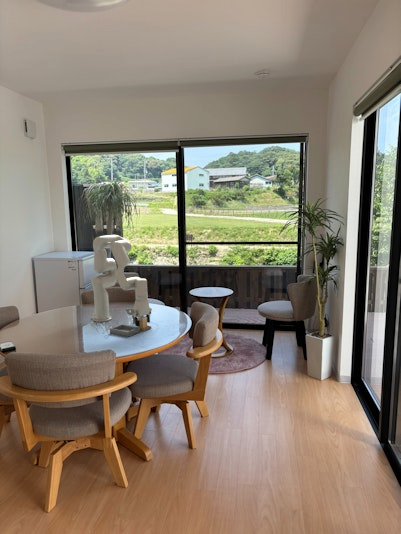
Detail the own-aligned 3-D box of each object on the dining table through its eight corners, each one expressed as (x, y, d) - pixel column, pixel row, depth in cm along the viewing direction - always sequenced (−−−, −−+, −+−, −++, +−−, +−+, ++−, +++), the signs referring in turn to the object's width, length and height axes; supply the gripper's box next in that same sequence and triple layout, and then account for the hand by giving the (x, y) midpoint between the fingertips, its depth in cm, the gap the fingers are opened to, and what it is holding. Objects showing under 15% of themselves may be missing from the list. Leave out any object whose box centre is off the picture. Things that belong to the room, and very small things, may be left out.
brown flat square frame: (134, 329, 256) (134, 327, 256) (142, 326, 262) (142, 324, 262) (143, 331, 252) (143, 329, 252) (151, 328, 258) (151, 326, 258)
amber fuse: (138, 329, 256) (138, 317, 255) (142, 328, 260) (142, 316, 259) (143, 330, 254) (142, 318, 253) (147, 329, 258) (146, 316, 256)
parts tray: (110, 333, 250) (109, 328, 250) (122, 328, 259) (122, 324, 259) (127, 337, 242) (127, 332, 242) (140, 332, 251) (139, 327, 251)
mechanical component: (140, 324, 268) (140, 309, 266) (126, 323, 270) (125, 309, 268) (142, 323, 271) (141, 308, 269) (127, 322, 273) (127, 308, 271)
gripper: (146, 294, 263) (147, 320, 266) (127, 300, 249) (129, 326, 251) (155, 295, 259) (156, 321, 262) (136, 301, 245) (138, 328, 247)
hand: (142, 324), depth 256 cm, fingers open, 9 cm apart
